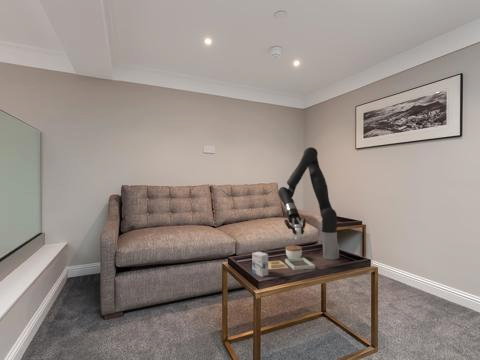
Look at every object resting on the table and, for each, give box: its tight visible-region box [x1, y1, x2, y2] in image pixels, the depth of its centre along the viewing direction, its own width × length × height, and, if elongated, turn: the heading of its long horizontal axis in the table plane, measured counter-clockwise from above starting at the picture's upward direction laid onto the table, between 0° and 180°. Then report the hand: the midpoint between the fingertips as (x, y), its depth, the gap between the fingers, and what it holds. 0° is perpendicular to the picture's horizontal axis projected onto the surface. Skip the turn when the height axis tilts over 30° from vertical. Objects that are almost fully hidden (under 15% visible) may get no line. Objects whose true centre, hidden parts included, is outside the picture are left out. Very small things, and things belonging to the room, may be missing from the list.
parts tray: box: [284, 257, 316, 271], centre depth 150 cm, size 13×17×2 cm
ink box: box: [251, 251, 269, 278], centre depth 137 cm, size 9×5×12 cm, turn 35°
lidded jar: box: [285, 244, 303, 259], centre depth 165 cm, size 11×11×9 cm
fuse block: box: [268, 260, 289, 270], centre depth 150 cm, size 12×12×2 cm
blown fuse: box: [294, 223, 302, 241], centre depth 150 cm, size 4×4×9 cm
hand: (299, 233), depth 148 cm, fingers closed on blown fuse, 4 cm apart
